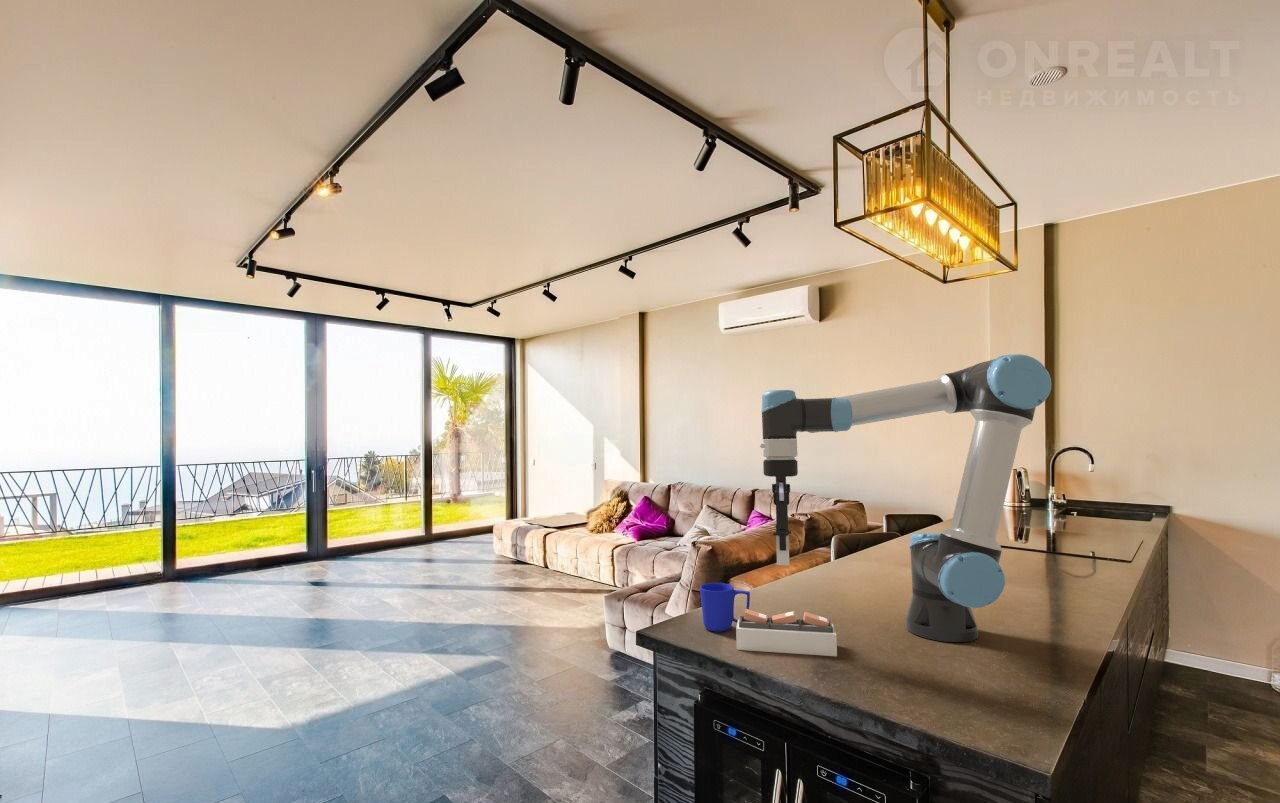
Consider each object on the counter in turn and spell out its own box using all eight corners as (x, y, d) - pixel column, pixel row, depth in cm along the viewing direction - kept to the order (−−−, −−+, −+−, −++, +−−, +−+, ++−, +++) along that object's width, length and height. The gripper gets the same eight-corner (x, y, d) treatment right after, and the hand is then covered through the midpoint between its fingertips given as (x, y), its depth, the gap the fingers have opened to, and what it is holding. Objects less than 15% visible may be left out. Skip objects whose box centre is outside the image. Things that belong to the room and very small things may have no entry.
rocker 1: (765, 621, 130) (767, 615, 130) (765, 625, 127) (767, 619, 127) (744, 614, 131) (745, 608, 131) (743, 618, 128) (745, 612, 128)
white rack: (833, 644, 128) (832, 619, 128) (837, 656, 121) (836, 629, 122) (738, 638, 133) (738, 614, 133) (736, 649, 126) (736, 624, 126)
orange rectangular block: (826, 624, 127) (827, 618, 127) (827, 629, 124) (828, 622, 124) (803, 617, 128) (804, 611, 128) (803, 622, 125) (805, 615, 125)
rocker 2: (795, 617, 128) (793, 610, 129) (796, 621, 125) (794, 614, 126) (773, 621, 129) (772, 615, 130) (774, 626, 126) (772, 619, 127)
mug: (750, 635, 135) (749, 592, 135) (699, 633, 137) (698, 590, 138) (751, 624, 143) (749, 583, 143) (702, 622, 145) (701, 582, 146)
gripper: (763, 457, 137) (766, 557, 135) (762, 459, 124) (765, 570, 123) (796, 457, 135) (799, 558, 134) (798, 459, 123) (801, 571, 121)
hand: (783, 564), depth 128 cm, fingers closed
